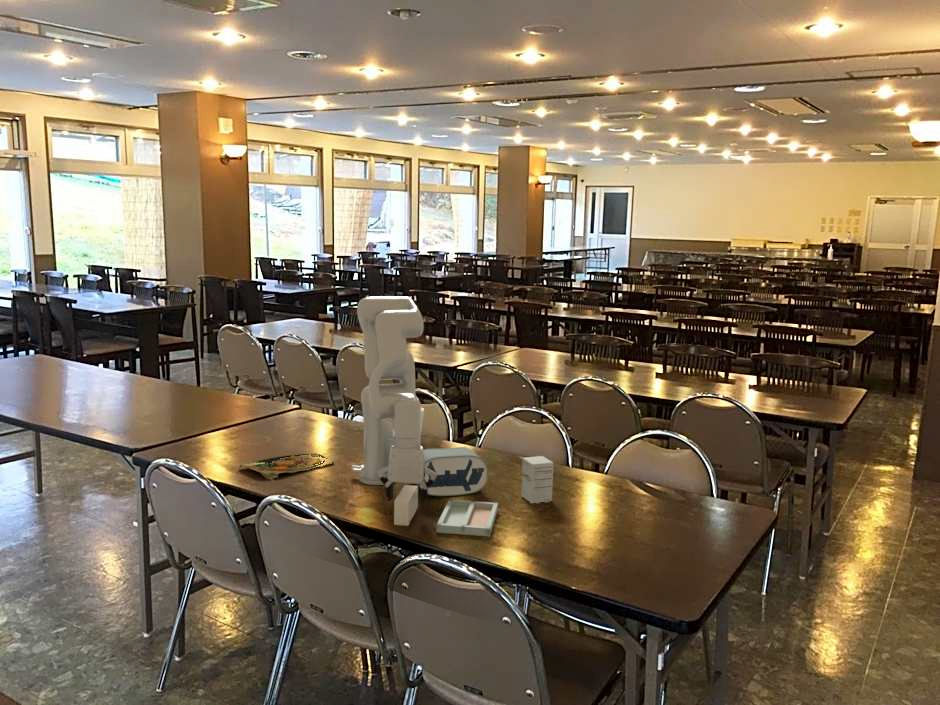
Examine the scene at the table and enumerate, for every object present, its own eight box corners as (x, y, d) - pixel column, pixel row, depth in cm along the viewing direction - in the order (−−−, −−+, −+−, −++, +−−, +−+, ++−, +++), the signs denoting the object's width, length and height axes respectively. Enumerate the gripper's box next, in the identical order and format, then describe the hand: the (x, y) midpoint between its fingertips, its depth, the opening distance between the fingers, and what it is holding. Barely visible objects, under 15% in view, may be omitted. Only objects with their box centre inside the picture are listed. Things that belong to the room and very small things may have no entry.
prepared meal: (306, 444, 287) (337, 454, 274) (307, 454, 287) (337, 464, 275) (237, 462, 267) (266, 474, 254) (237, 472, 267) (267, 484, 255)
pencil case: (418, 499, 241) (418, 458, 240) (406, 482, 260) (406, 444, 258) (488, 494, 247) (488, 454, 246) (471, 478, 265) (472, 440, 264)
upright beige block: (394, 525, 221) (394, 501, 220) (404, 507, 235) (404, 485, 234) (408, 526, 221) (408, 502, 220) (417, 508, 235) (418, 485, 234)
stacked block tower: (520, 496, 247) (521, 457, 245) (542, 494, 249) (543, 455, 247) (530, 504, 240) (532, 464, 238) (552, 502, 243) (554, 462, 241)
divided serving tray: (436, 532, 217) (436, 524, 216) (448, 506, 237) (449, 499, 236) (489, 536, 215) (490, 528, 214) (497, 510, 235) (498, 502, 234)
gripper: (373, 443, 222) (374, 502, 224) (435, 447, 220) (434, 506, 222) (380, 437, 229) (380, 494, 232) (439, 440, 227) (439, 498, 229)
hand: (406, 500), depth 227 cm, fingers open, 9 cm apart
